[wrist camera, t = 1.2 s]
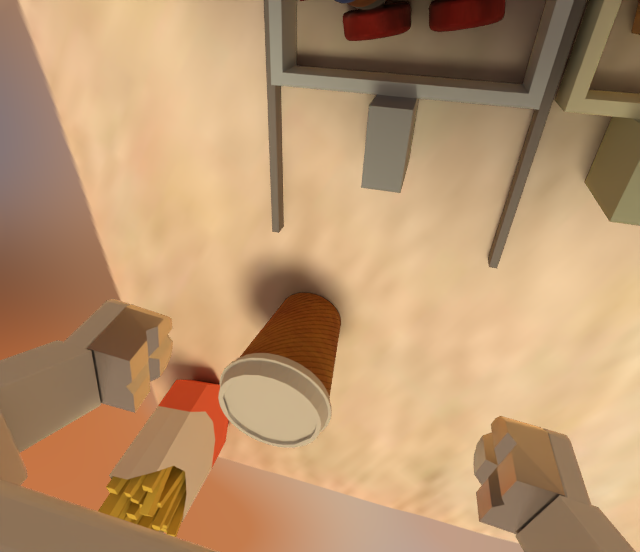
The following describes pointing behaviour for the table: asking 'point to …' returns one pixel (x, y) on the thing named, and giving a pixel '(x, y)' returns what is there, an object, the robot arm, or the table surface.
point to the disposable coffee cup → (285, 375)
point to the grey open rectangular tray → (409, 89)
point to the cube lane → (625, 108)
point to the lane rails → (523, 163)
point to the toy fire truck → (395, 18)
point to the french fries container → (169, 459)
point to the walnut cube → (637, 21)
